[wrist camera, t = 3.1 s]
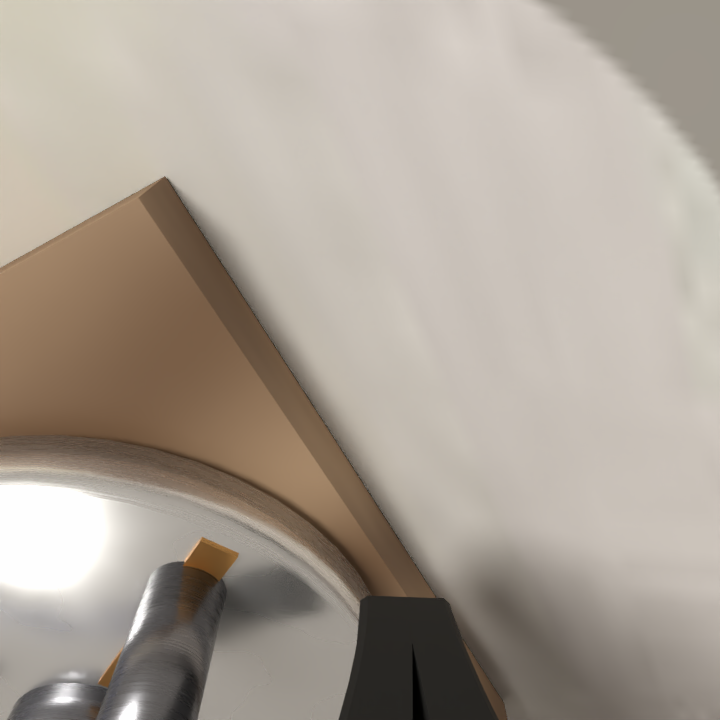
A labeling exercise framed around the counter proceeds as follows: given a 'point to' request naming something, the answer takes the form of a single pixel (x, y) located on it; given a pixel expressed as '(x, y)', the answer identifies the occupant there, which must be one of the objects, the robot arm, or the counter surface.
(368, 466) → the counter surface
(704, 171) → the counter surface
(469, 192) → the counter surface
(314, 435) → the tan base board
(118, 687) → the capstan dial
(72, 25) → the counter surface
